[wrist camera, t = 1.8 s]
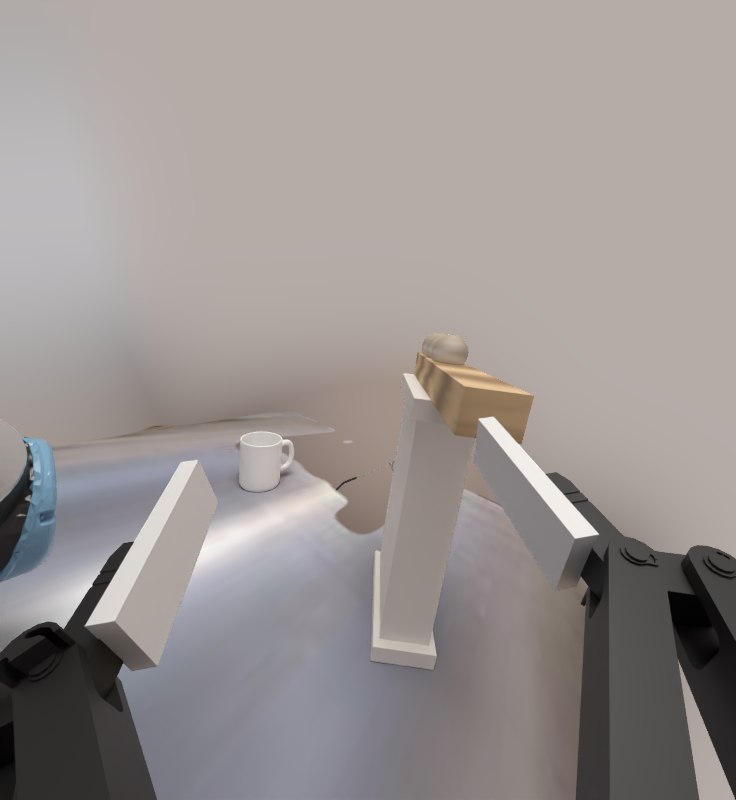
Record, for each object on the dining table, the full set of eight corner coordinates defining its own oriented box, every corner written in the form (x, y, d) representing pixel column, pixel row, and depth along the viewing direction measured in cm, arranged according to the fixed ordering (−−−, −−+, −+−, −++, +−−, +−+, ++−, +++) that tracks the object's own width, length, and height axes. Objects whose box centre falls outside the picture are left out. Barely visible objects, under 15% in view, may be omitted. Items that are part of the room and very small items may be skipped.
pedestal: (373, 561, 49) (402, 373, 42) (418, 567, 49) (454, 380, 42) (370, 660, 34) (414, 398, 27) (433, 669, 34) (493, 408, 27)
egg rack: (414, 374, 42) (421, 330, 41) (443, 378, 42) (451, 334, 41) (454, 435, 19) (474, 337, 17) (521, 444, 19) (546, 346, 17)
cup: (232, 479, 67) (233, 434, 65) (283, 466, 75) (285, 427, 73) (248, 497, 61) (250, 449, 59) (301, 481, 70) (305, 439, 67)
